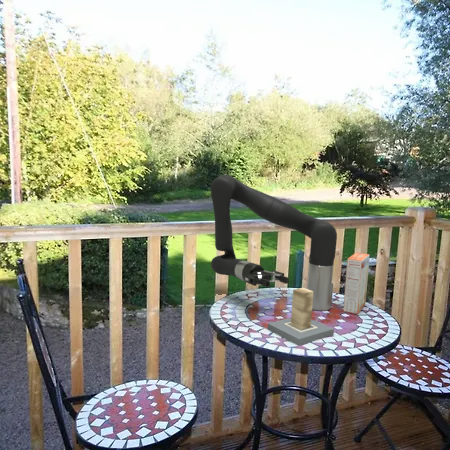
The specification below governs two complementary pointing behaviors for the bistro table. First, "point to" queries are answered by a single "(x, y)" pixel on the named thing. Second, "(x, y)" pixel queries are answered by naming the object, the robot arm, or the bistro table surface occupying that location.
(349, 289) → the cracker box
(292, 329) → the grey rectangular slab
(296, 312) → the maple block
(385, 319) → the bistro table surface
